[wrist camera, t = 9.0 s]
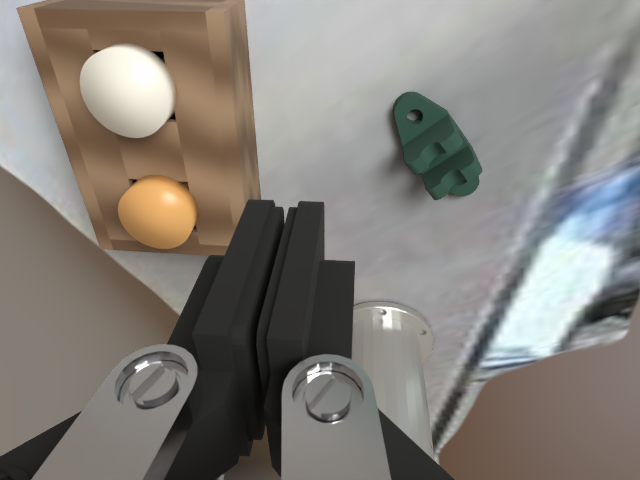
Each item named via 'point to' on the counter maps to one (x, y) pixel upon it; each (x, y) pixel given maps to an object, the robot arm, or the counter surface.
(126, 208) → the orange button
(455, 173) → the mount
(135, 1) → the wooden peg board
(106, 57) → the cream button
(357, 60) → the counter surface
